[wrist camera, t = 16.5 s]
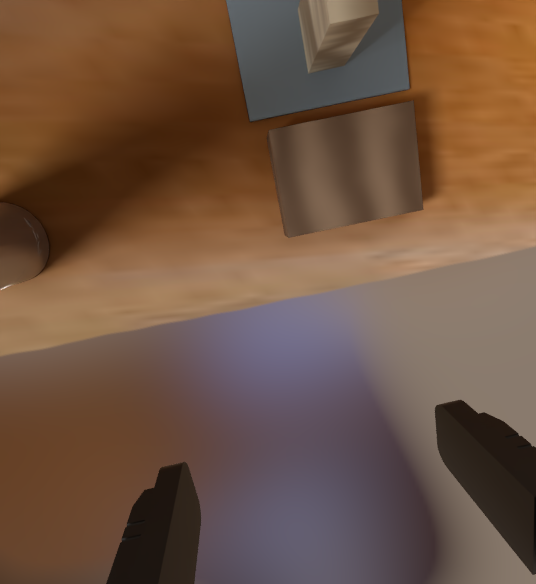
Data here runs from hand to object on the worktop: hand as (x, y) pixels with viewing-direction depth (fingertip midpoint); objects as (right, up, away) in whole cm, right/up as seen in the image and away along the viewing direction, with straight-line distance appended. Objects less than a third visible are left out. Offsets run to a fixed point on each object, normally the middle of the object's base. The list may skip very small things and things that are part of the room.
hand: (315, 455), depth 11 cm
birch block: (+4, +32, +25) cm, 41 cm away
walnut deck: (+7, +19, +29) cm, 35 cm away
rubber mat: (+4, +32, +26) cm, 41 cm away
